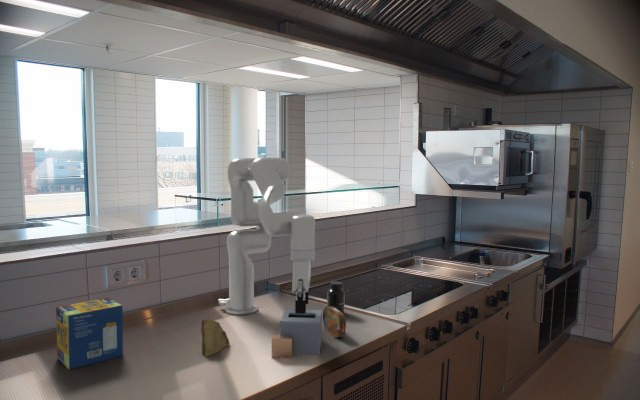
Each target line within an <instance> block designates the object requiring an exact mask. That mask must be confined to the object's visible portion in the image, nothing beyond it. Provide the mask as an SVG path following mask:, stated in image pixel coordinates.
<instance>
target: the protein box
mask: <svg viewBox="0 0 640 400" xmlns="http://www.w3.org/2000/svg"><path fill="white" fill-rule="evenodd" d="M123 310H124V309H123V305H122V304H121V303H119V302H117V301H115V300H113V299H111V298H110V297H105V298H100V299H95V300H89V301H84V302H77V303H72V304H66V305H60V306H56V307H55V311H56V314H55V315H56V342H57V343H56V351H57V352H56V353H57V359H58V360H59V362H61V364H62V365H64V366H65V367H66V368H67V370H72V369H73V370H74V369H77V368H80V367H84V366H88V365H93V364H96V363H99V362H103V361H107V360H111V359H114V358H119V357H122V356H124V329H123V327H124V326H123V325H124V321H123V315H124V314H123Z"/></svg>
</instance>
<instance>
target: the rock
mask: <svg viewBox="0 0 640 400" xmlns="http://www.w3.org/2000/svg"><path fill="white" fill-rule="evenodd" d="M200 326H201V328H200V332H201V339H202V340H201V354H202V355H203V356H204V357H205V358H208V357H209V356H213V355H215V354H218V353H219V352H220V351H222V350H223V349H224V348H226V347H227V346H229V345H230V340H229V338H228V335H227V333H226V331H225V330H224V329H223V327H222V325H221V324H220V322H218V321H216V320H214V319H211V318H207V319H202V320H201V325H200Z"/></svg>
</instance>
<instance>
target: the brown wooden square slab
mask: <svg viewBox="0 0 640 400" xmlns="http://www.w3.org/2000/svg"><path fill="white" fill-rule="evenodd" d="M271 358H272V359H293V336H280V335H275V334H273V335H272V336H271Z"/></svg>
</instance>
